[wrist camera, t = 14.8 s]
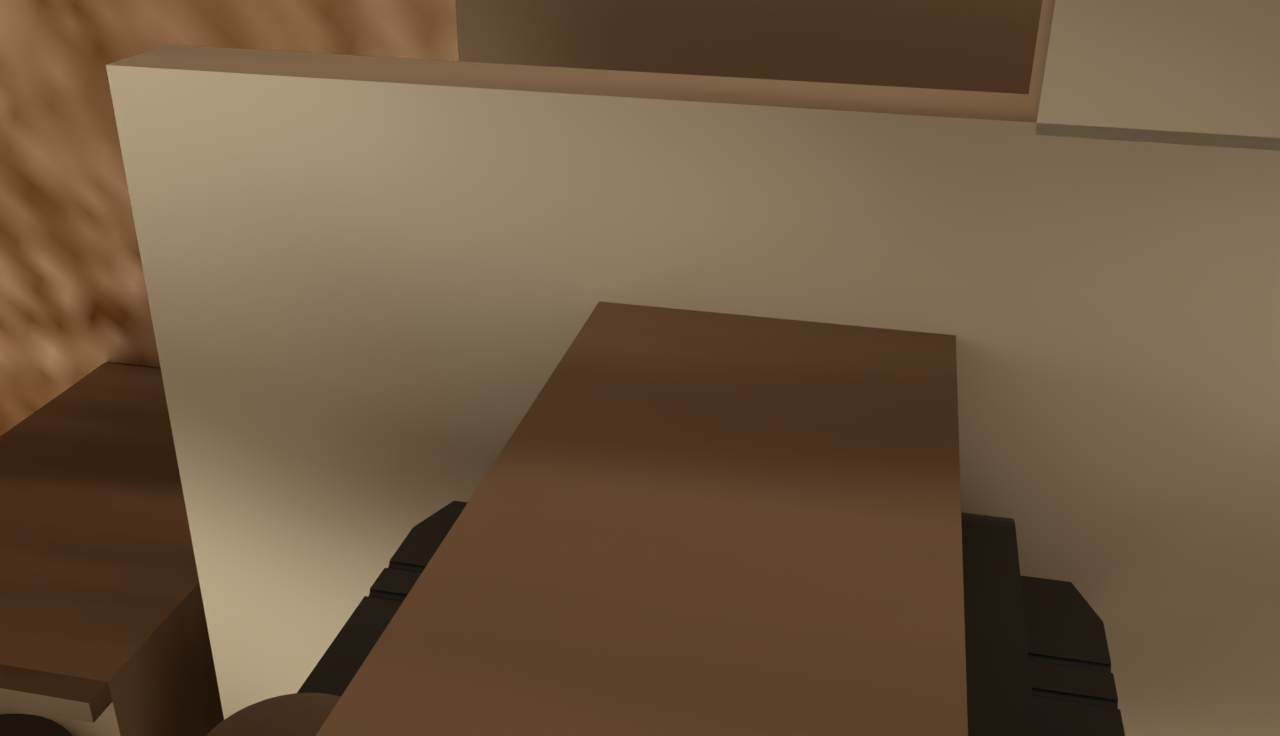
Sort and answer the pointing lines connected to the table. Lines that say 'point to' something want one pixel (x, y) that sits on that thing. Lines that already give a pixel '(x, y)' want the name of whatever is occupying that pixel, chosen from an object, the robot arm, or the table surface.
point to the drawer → (723, 375)
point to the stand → (767, 39)
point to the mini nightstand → (102, 567)
